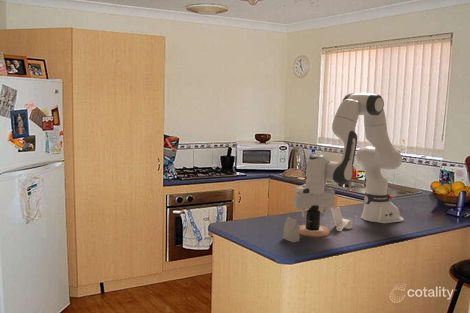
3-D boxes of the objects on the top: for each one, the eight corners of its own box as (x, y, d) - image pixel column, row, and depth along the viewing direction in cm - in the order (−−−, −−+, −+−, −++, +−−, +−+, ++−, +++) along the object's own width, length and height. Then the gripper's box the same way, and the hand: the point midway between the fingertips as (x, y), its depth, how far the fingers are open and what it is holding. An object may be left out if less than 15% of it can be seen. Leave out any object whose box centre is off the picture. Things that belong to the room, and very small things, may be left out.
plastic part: (351, 228, 250) (353, 205, 249) (341, 231, 243) (343, 208, 241) (338, 225, 255) (340, 202, 254) (328, 228, 248) (329, 205, 246)
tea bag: (292, 242, 223) (293, 220, 222) (283, 238, 228) (284, 217, 227) (299, 241, 225) (300, 219, 224) (289, 237, 231) (290, 216, 229)
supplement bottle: (305, 230, 237) (306, 205, 235) (305, 226, 243) (306, 202, 242) (319, 231, 236) (321, 206, 234) (319, 227, 242) (320, 203, 241)
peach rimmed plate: (321, 226, 250) (321, 223, 250) (335, 236, 235) (335, 232, 234) (291, 228, 246) (291, 225, 246) (303, 237, 230) (303, 234, 230)
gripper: (332, 186, 243) (330, 214, 245) (292, 187, 238) (291, 215, 240) (337, 189, 237) (336, 217, 239) (297, 190, 232) (296, 219, 234)
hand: (313, 216), depth 239 cm, fingers open, 8 cm apart
